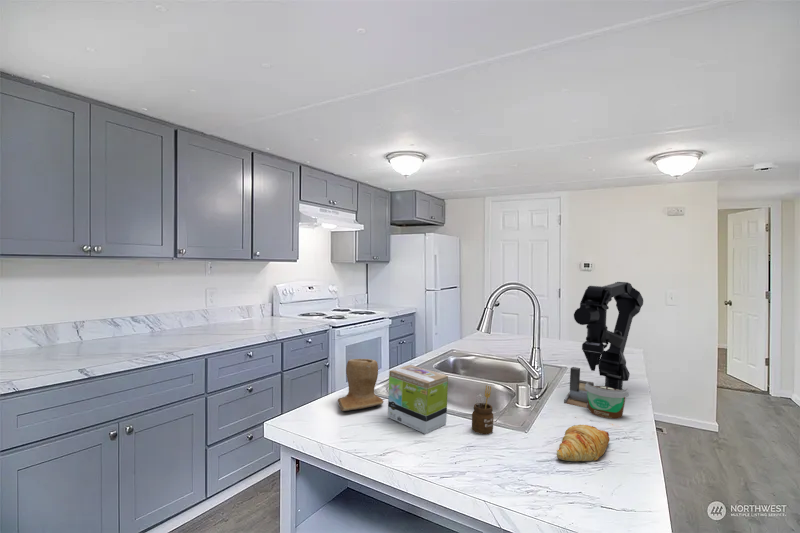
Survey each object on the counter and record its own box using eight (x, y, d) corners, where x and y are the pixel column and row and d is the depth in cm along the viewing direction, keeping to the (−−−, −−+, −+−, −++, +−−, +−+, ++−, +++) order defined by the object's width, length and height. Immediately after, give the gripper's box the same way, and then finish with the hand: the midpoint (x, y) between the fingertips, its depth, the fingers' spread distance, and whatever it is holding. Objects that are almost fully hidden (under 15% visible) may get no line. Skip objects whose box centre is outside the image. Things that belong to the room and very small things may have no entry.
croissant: (568, 482, 96) (584, 460, 92) (537, 447, 103) (550, 425, 99) (614, 457, 108) (630, 436, 104) (583, 427, 115) (597, 407, 111)
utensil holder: (467, 431, 114) (469, 388, 114) (478, 423, 119) (479, 383, 119) (487, 437, 110) (488, 393, 110) (496, 429, 115) (498, 387, 115)
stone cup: (371, 396, 139) (372, 353, 139) (387, 408, 129) (389, 361, 129) (329, 403, 132) (330, 357, 131) (343, 416, 121) (344, 366, 121)
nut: (576, 393, 145) (576, 382, 145) (588, 395, 143) (589, 384, 143) (574, 396, 142) (574, 385, 142) (586, 399, 140) (587, 387, 140)
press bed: (571, 393, 149) (572, 378, 148) (595, 398, 144) (596, 382, 144) (563, 406, 135) (564, 389, 135) (589, 412, 131) (589, 394, 131)
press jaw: (570, 396, 141) (571, 366, 140) (588, 400, 138) (590, 369, 137) (569, 398, 138) (570, 368, 138) (587, 402, 135) (588, 371, 135)
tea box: (386, 419, 121) (387, 369, 120) (408, 410, 128) (410, 363, 128) (425, 435, 110) (427, 381, 110) (447, 424, 118) (449, 374, 117)
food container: (582, 418, 125) (583, 386, 125) (583, 411, 131) (584, 381, 131) (627, 427, 120) (629, 393, 119) (627, 420, 125) (628, 388, 125)
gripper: (621, 329, 127) (619, 378, 128) (625, 322, 143) (623, 365, 143) (582, 325, 133) (580, 372, 134) (590, 318, 149) (588, 360, 149)
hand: (594, 367), depth 140 cm, fingers open, 9 cm apart
